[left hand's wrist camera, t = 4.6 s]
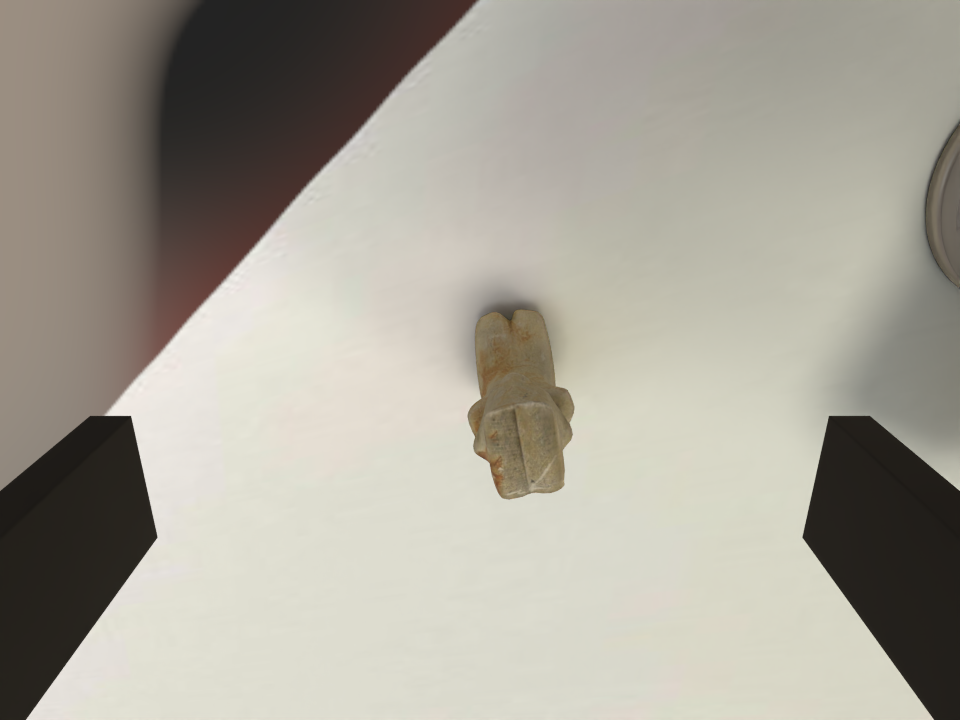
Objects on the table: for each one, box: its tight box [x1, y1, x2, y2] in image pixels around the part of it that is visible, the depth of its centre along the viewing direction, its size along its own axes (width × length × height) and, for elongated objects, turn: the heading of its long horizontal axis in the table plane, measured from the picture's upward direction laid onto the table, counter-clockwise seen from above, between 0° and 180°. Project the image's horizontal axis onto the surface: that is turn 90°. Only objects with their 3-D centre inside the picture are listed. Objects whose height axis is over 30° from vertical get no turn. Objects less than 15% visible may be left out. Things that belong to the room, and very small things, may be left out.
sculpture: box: [468, 309, 574, 499], centre depth 38 cm, size 6×7×15 cm
